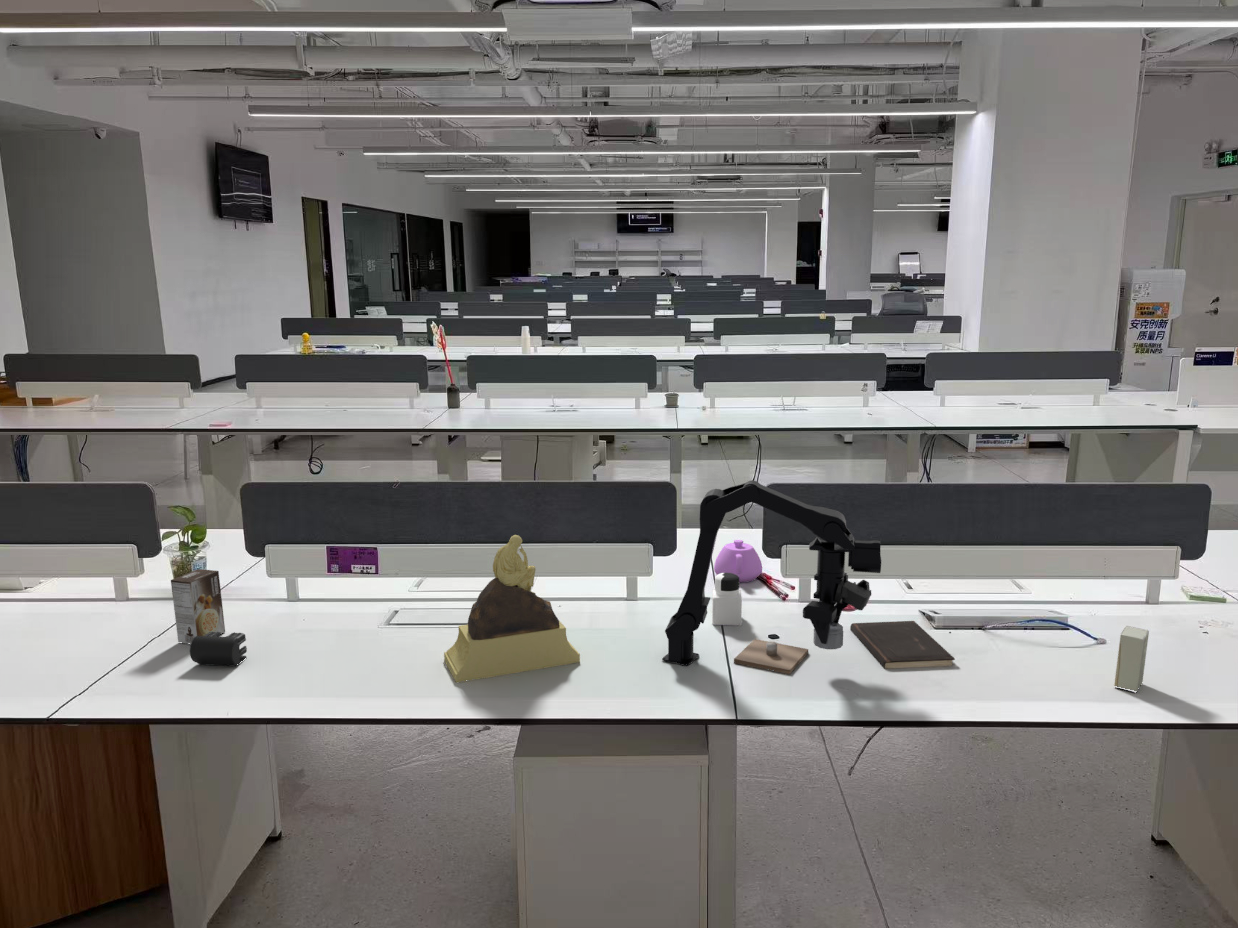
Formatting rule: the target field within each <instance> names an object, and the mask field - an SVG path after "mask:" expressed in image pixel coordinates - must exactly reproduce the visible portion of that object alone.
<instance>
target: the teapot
mask: <svg viewBox="0 0 1238 928" xmlns="http://www.w3.org/2000/svg"><path fill="white" fill-rule="evenodd" d="M762 565H763V564H762V560H761V558H760V556H759V554H758V553H757V551H756V549H755V548H754V546H753V545H751V544H749V543H745V542H744V540H743V539H734V540H733V542H730V543H726V544H725V545H724V546H722V548H721V550H720V551H719V552H718V555H717V556H716V558H715V562H714V565H713V566H714V567H713V569H714V570H713V571H714V573H715V574H716V575H718V574H720V573H733V574H736V575H738V577H739V583H748V581H749V582H753V581H755V580H756V579H755V578H757V576H759V575H760V574H761V575H762V573H763V566H762ZM759 577H760V576H759ZM754 579H755V580H754ZM757 579H758V578H757ZM752 580H753V581H752Z"/></svg>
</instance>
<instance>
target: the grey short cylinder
mask: <svg viewBox="0 0 1238 928" xmlns="http://www.w3.org/2000/svg"><path fill="white" fill-rule="evenodd" d="M813 644H814V646H815V647H818V648H819V649H823V650H838V649H840V648H842V647H843V645H844V626H843V625H842V624H840V623H839V622H838V623H835V622H832V623H831V625H830V630H829V635H828V639H827V643H826V644H822V643H821V642H820V639H819V637H818V635H817V633H816V630H815V628H814V627H813Z"/></svg>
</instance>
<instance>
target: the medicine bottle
mask: <svg viewBox="0 0 1238 928" xmlns="http://www.w3.org/2000/svg"><path fill="white" fill-rule="evenodd" d="M714 579H715V580H714V588H713V589H712V611H711V613H712V615H711V616H712V625H713V626H737V627H738V626H740V627H741V626H742V609H743V608H742V606H743V604H742V603H743V600H742V598H743V596H742V590H741V589H740V582H739V577H738V575H736V574H733V573H720V574H718V575H717V574H716V575H715V577H714Z"/></svg>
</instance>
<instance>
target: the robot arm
mask: <svg viewBox="0 0 1238 928" xmlns="http://www.w3.org/2000/svg"><path fill="white" fill-rule="evenodd" d="M750 503H753V504H756V505H758V506H760V507H762V508H765V509H767V510H769V511H771V512H774V513H776V514H778V515H781V516H783V517H785V518H788V519H790V520H792V521H794V522H796V523H799V524H801V525H803V526H804V527H806V529H808V530H809V531H810V532H811V533H812V534H813V535H816V537H815V539H814V540H813V541H811V542H809V545H808V549H809V551H817V559H816V560H817V566H816V573H815V574H814V576H813V580H814V581H816V590H815V592H814V593H813V599H816V600H819V601H816V600H811V601H810V602H809V603H807V604H805V605H806V606H804V607H803V609H802V618H804V619H807V620H809V621H810V622H811V624H812V626H813V629H814V628H815V630H816V633H817V635H818V637H819V639H820V642H821V643H822V644H826V643H827V639H828V635H829V630H830V625H831V623H832V622H835V623H838V624H839V623H840V619H841V615H842V612H843V610H845V608H847V607H848V606H849V605H850V606H852V607H853V608H854V609H856V610H857V611H863V610H864V609H865V608H866V606H867V604H868V602H869V601H870V598H871V596H872V595H873V594H872V591H873V590H872V589H871V588H870V582H869V581H867V580H866V579H862V580H860V581H859V582H858V583H857V582H855V581H854V582H852V581H849V575H848V573H847V572H845V571H846V570H845V567H846V565H845V563H846V553H848V555H847V556H848V557H847V567H850V570H852V573H853V572H855V573H872V574H881V571H882V556H881V547H882V546H881V540H878V539H877V540H859V539H855V536H854V535H853V533H852V532H851V531H850V529H849V528H848V527H847V520H846V517H845V515H844V514H843V513H842V512H840V511H839V510H836V509H831V508H827V507H823V506H815V505H811V504H806V503H805V502H803V501H800V500H798V499H795V498H793V497H791V496H789V495H786V494H784V493H782V492H779V491H777V490H775V489H773V488H770V487H767V486H765V485H764V484H761V483H759V481H757V480H753V479H752V480H749V481H748V480H747V481H746V482H744V483H741V484H736V485H733V486H729V487H727V488H724V489H720V488H713V489H711V490H709V491H707V492H706V493H705V495H704V497H703V499H702V501H701V502H700V504H699V505H700V506H699V535H698V539H697V544H696V549H695V552H694V558H693V562H692V567H691V571H690V574H689V580H688V583H687V588H686V591H685V593H684V596H683V598H682V600H681V603H680V605H679V607H678V609H677V611H676V612H675V614H673V615H672V616H671V617H670V620H669V622H668V624H667V625H666V627H665V630H664V633H665V636H666V638H667V645H668V646H667V649H668V650H667V654H666V655H664V656H663V657H662V659H661V660H662V662H663V661H664V662H667V663H673V664H675V665H676V664H677V665H681V666H685V667H686V666H690V665H691V664H692V663H693V662H694V661H695V660H697V659H698V658H699V657H700V654H699V653H696V652H694V636H695V634H694V632H695V631H697V630H698V629H699V628H700V625H701V624H703V625H704V623H705V620H706V618H707V615H708V606H709V603H710V600H711V597H710V596H709V597H707V596H706V595H705V593H706V591H705V589H706V584H707V580H708V575H709V572H710V571H709V570H710V567H711V564H712V563H711V562H712V559H713V553H714V550H715V545H716V540H717V537H718V532H719V529H720V527H721V526H722V523H723V521H724V518H725V516H726V514H727V513H730V512H733V511H735V510H737V509H739V508H740V507H743V506H745V505H747V504H750Z"/></svg>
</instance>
